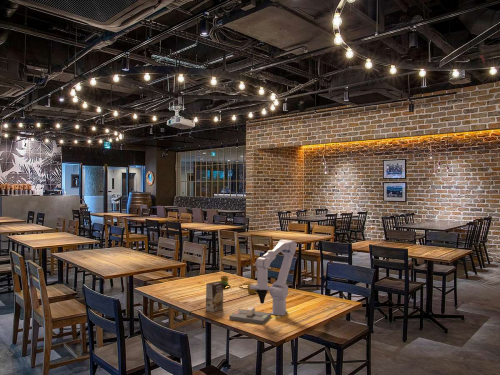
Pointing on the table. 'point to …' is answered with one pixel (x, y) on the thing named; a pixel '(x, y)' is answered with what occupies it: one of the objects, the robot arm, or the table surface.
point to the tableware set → (225, 280)
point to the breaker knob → (250, 311)
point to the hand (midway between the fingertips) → (262, 303)
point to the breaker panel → (250, 317)
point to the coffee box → (214, 296)
